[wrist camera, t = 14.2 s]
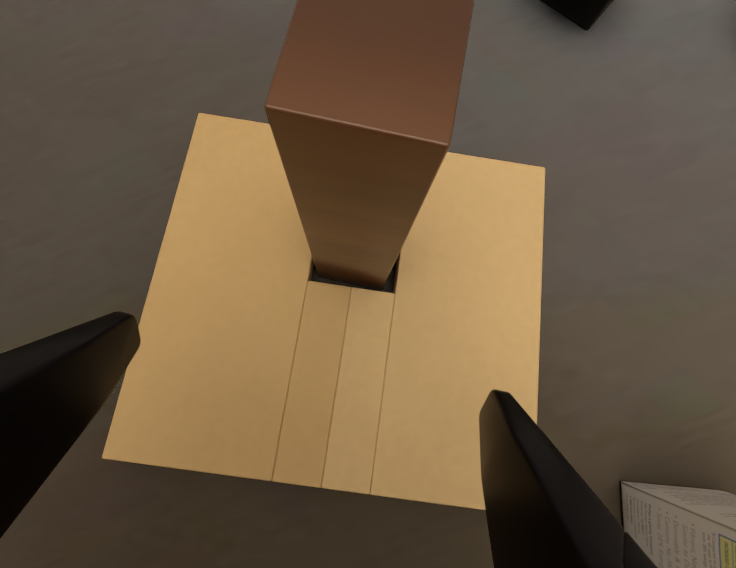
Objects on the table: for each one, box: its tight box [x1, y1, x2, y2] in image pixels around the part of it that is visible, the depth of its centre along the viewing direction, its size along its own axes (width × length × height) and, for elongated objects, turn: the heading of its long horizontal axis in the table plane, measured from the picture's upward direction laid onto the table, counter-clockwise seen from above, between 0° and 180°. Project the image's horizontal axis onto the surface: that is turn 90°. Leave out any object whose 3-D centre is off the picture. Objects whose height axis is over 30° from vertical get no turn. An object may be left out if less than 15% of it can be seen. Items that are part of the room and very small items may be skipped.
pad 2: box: [321, 152, 545, 510], centre depth 21 cm, size 20×11×2 cm, turn 172°
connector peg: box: [264, 0, 474, 290], centre depth 15 cm, size 4×4×15 cm
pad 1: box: [102, 113, 351, 488], centre depth 21 cm, size 20×11×2 cm, turn 172°
